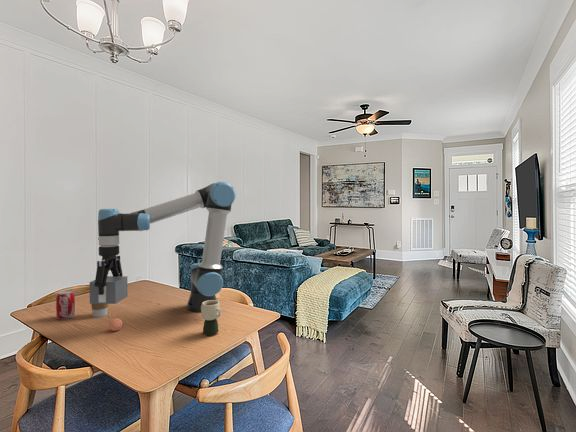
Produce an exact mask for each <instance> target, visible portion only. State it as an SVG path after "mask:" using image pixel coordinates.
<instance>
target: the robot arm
mask: <svg viewBox="0 0 576 432" xmlns="http://www.w3.org/2000/svg"><path fill="white" fill-rule="evenodd" d="M235 200H236V190H235V188H234V187H233V186H232V184H230V183H228V182H224V181H217V182H215V183H210V184H209V185H207V186H205V187H203V188H201V189H200V188H199V189H198V190H196V191H195V192H194V193H190V194H188V195H185V196H182V197H179V198H175V199H172V200H169V201H166V202H163V203H160V204H156V205H153V206H149V207H147V208H144V209H140V210H136V211H134V212H130V213H120V211H119V209H118V208H101V209H99V210H98V215H97V217H98V218H97V228H98V229H97V230H98V235H97V236H98V239H97V240H98V246H99V247H98V256H100V257H102V258H101V260H98V261H96V272H95V273H96V274H95V279H94V280H95V287H98V295H99V302H106V286H105V283H106V279H107V276H108V275H109V271H110V273H111V276H123V269H122V263H121V255H119V254H120V246H119V245H120V232H130V231H131V232H135V231H136V232H137V231H139V232H143V231H149V230H150V229H151V224H155V223H157V222H160V221H163V220H166V219H169V218H172V217H174V216H177V215H181V214H184V213H187V212H190V211H194V210H196V209H199V208H201V209H206V210H207V212H208V218H207V223H206V232H205V236H204V237H205V239H204V243H203V244H204V245H203V252H202V260H201V262H199V263H197V262H195V263H192V264H191V265H190V270H189V271H190V295H189V297H188V301H187V305H186V306H187V307H186V309H187V310H188V311H191V312H197V313H200V312H201V305H202V303H203V302H204V301H208V300H217V296H216V295H217V294H219V292H221V290H222V288H223V286H224V278H223V277H222V276H223V269H224V267H223V265H222V264H221V259H222V251H223V244H224V237H225V230H226V225H227V224H226V223H227V217H228V214H229V213H231V211H232V205H233V203H234V202H235ZM217 301H218V300H217ZM201 313H202V312H201Z"/></svg>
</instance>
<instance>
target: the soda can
mask: <svg viewBox="0 0 576 432" xmlns="http://www.w3.org/2000/svg"><path fill="white" fill-rule="evenodd" d="M55 297H56V298H55V309H56V310H55V313H56V318H57V319H59V320H62V321H63V320H68V319H69V320H70V319H72V317H74V316H75V315H76V314H75V313H76V301H75V293H74V291H73V290H62V291H59V292H57V295H56V296H55Z"/></svg>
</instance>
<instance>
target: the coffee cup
mask: <svg viewBox="0 0 576 432" xmlns="http://www.w3.org/2000/svg"><path fill="white" fill-rule="evenodd" d="M88 291H89V292H90V288H89V290H88ZM90 305H91V311H92V317H93V318H101V317H102V316H103V317H105V316H108V307H109V304H90Z"/></svg>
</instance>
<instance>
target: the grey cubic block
mask: <svg viewBox="0 0 576 432" xmlns="http://www.w3.org/2000/svg"><path fill="white" fill-rule="evenodd" d="M105 286H106V302H99V295H98V287H95V279H94V280H91V281H90V282H89V289H90V291H89V304H90V305H91V304H108V305H112V304H113V305H115V304H118V303H119V302H121V301H122V300H124V299H127V297H128V293H129V292H128V276H126V275H125V276H113V275H110V276H107V279H106V283H105Z"/></svg>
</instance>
